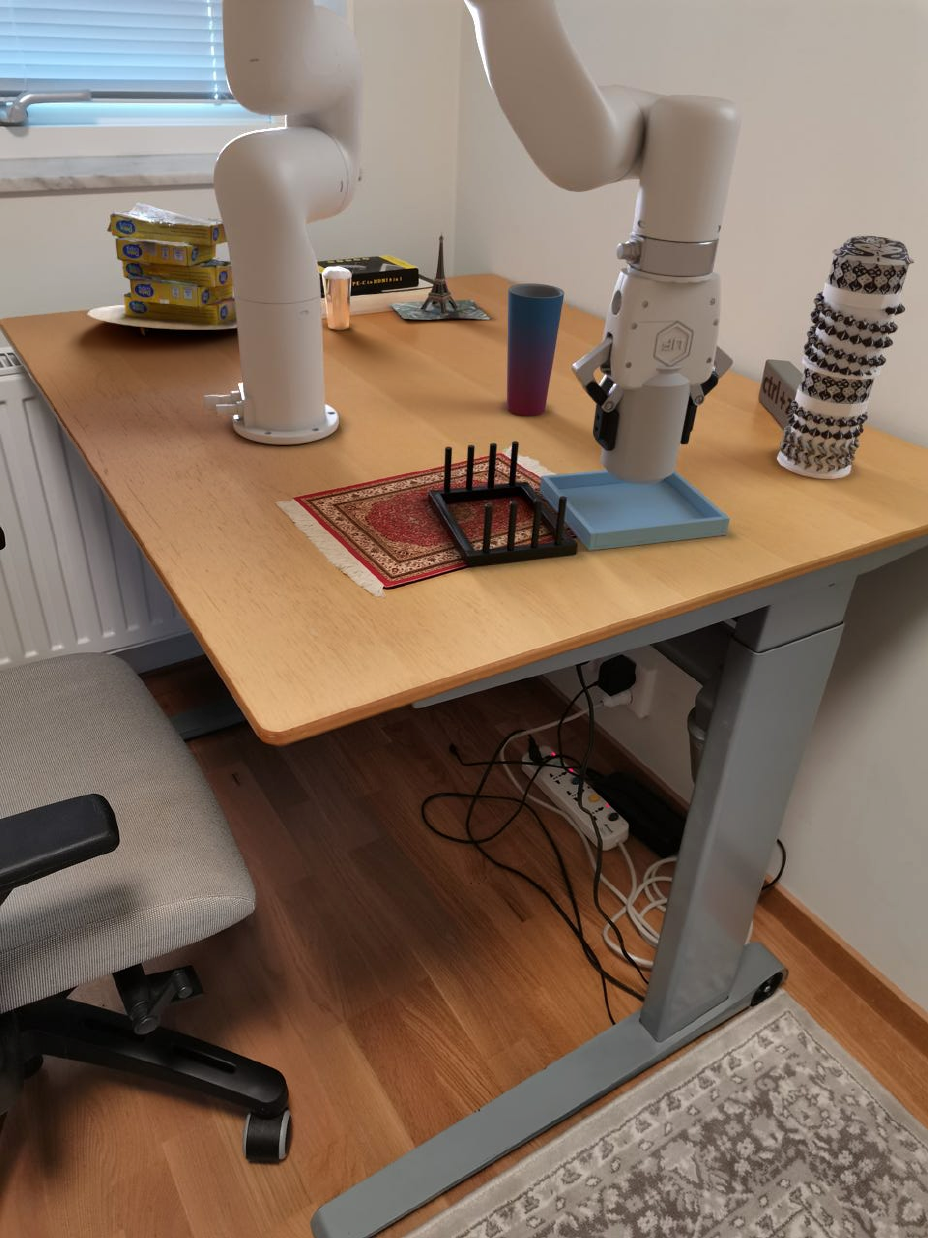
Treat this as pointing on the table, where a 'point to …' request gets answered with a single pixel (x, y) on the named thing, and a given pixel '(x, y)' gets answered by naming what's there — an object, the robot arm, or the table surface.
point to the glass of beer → (337, 296)
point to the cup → (531, 345)
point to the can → (649, 429)
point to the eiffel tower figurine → (439, 300)
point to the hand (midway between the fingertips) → (641, 441)
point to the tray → (632, 509)
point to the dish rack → (542, 513)
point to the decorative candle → (844, 356)
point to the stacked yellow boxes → (171, 272)
